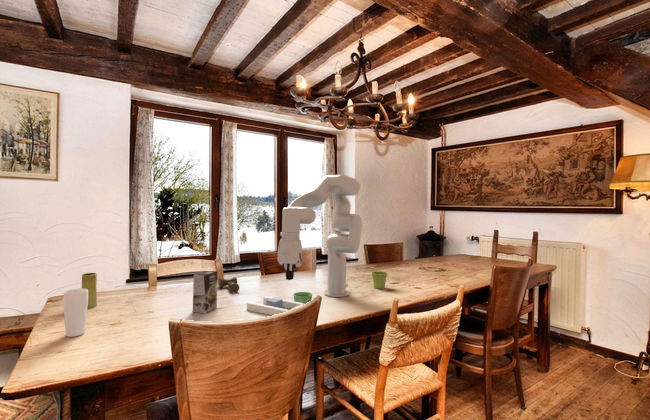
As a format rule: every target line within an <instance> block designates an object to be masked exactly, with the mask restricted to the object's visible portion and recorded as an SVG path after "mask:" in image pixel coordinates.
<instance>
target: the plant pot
mask: <svg viewBox="0 0 650 420" xmlns="http://www.w3.org/2000/svg"><path fill="white" fill-rule="evenodd" d="M370 274H371V276H372V282H373V283H372V284H373V289H377V290H380V289H382V290H383V288H384V289H385V288H386V281H387V277H388V274H389V273H388V272H386V271H383V270H382V271H381V270H378V271H377V270H376V271H375V270H374V271H371V272H370Z"/></svg>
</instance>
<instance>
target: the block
mask: <svg viewBox="0 0 650 420" xmlns="http://www.w3.org/2000/svg"><path fill="white" fill-rule="evenodd" d="M265 305H268V306H273V307H277V308H282V309H284V308H283V298H277V297H273V298H271V299H269V300H266V304H265Z"/></svg>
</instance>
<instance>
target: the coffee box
mask: <svg viewBox="0 0 650 420" xmlns="http://www.w3.org/2000/svg"><path fill="white" fill-rule="evenodd" d="M192 282H193V284H192V288H193V289H192V313H199V314H207V313H208V312H211V311H212V310H215V309H216V308H218V307H217V306H218V304H217V303H218V271H217V270H204V271H200V272H198V273H194V274H193V281H192Z"/></svg>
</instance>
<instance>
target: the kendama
mask: <svg viewBox="0 0 650 420" xmlns="http://www.w3.org/2000/svg"><path fill="white" fill-rule="evenodd" d="M226 286H227V289H228V290H229V292H230V293H238V291H240V285H239V284H238V278H237V277H236V276H233V277H232V278H229V279H227V278H222V277H220V276H219V277H218V278H217V287H218V288H219V289H222V288H224V287H226Z"/></svg>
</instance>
